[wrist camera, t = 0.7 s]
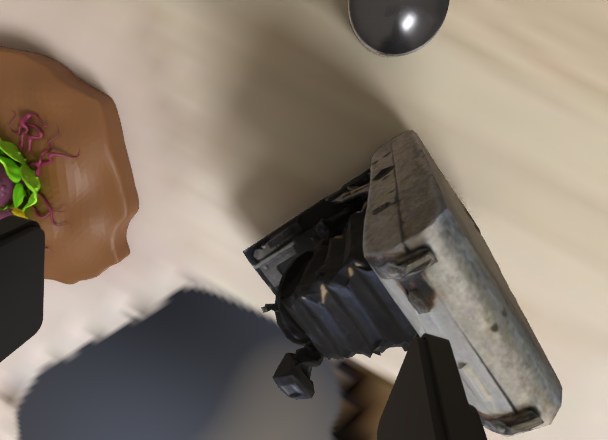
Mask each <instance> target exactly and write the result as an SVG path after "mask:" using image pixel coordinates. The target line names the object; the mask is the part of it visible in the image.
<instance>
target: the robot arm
mask: <svg viewBox="0 0 608 440" xmlns="http://www.w3.org/2000/svg"><path fill="white" fill-rule="evenodd" d="M44 261H45V232H44V231H43V230H42V229H41V227H40V225H39V223H38V222H36V221H33V220H30V219H26V218H23V217H19V216H15V215H11V216H7V217H5V218H2V219H0V362H1V361H2V360H4V359H5V358H6V357H7V356H9V355H10V354H11V353H12V352H14V351H15V350H16V349H17V348H19V347H20V346H21V345H22V344H24V343H25V342H26V341H27V340H28V339H30V338H31V337H32V336H33V335H35V334H36V333H37V331H38V330H39V329H40V327H41V325H42V321H43V298H44ZM377 440H487V437H486V434H485V431H484V428H483V425H482V422H481V419H480V416H479V413H478V411H477V409H476V408H475V407H474V406H473V405H470V404H469V403H468V400H467V397H466V393H465V390H464V387H463V384H462V380H461V377H460V374H459V370H458V367H457V364H456V360H455V357H454V354H453V350H452V347H451V344H450V341H449V340H448V339H445V338H441V337H438V336H434V335H431V334H427V333H424V334H423V335H422V336H421V338H419V337H416V336H415V337H414V338H413V339H412V341H411V344H410V346H409V349H408V351H407V354H406V356H405V359H404V361H403V364H402V366H401V369H400V371H399V374H398V376H397V379H396V381H395V384H394V386H393V389H392V391H391V394H390V396H389V399H388V401H387V404H386V406H385V409H384V411H383V414H382V416H381V419H380V421H379V425H378V431H377Z"/></svg>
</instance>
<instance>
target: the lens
mask: <svg viewBox="0 0 608 440" xmlns="http://www.w3.org/2000/svg"><path fill="white" fill-rule="evenodd" d="M448 5H449V0H348V15H349V20H350V23H351V26H352V29H353V31H354V33H355V35H356V36H357V38H358V39H359V40H360V42H361V43H362V45H363V46H364V47H365V48H366V49H367V50H369V51H370V52H372V53H374V54H376V55H379V56H384V57H393V56H402V55H406V54H410V53H412V52H415V51H417V50H419V49H420V48H422V47H423V46H425V45H426V44H427V43H428V42H429V41H430V40H431V39H432V38H433V37H434V36H435V35H436V33H437V32H438V31H439V29H440V27H441V26H442V24H443V21H444V19H445V16H446V13H447V10H448Z"/></svg>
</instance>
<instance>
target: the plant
mask: <svg viewBox="0 0 608 440" xmlns="http://www.w3.org/2000/svg"><path fill="white" fill-rule="evenodd" d="M138 209H139V199H138V194H137V191H136V187H135V183H134V178H133V174H132V169H131V165H130V162H129V158H128V154H127V150H126V146H125V142H124V137H123V131H122V127H121V122H120V118H119V115H118V111H117V108H116V105H115V103H114V101H113V100H112V98H111V97H109V96H108V95H106V94H104V93H102V92H100V91H99V90H97V89H95V88H93V87H91V86H89V85H88V84H86V83H85V82H83V81H82V80H80V79H79V78H78V77H76V76H75V75H74V74H73V73H72V72H71V71H70V70H69V69H68V68H67V67H66V66H64V65H63V64H61V63H59V62H57V61H55V60H53V59H51V58H49V57H47V56H44V55H41V54H38V53H33V52H27V51H21V50H15V49H11V48H6V47H2V46H0V219H2V218H5V217H7V216H11V215H15V216H19V217H23V218H26V219H30V220H33V221H36V222H38V223H39V225H40V227H41V229H42V230H43V231H44V232H45V261H44V279H51V280H56V281H59V282H62V283H64V284H74V283H77V282H78V281H81V280H87V279H91V278H94V277H97V276H98V275H100V274H101V273H102V272H104V271H105V270H106V269H107V268H109V267H110V266H112V265H114V264H117V263H119V262H120V261H121V260H123V259H124V258H125V257H127V256H128V255H129V254H130V249H129V246H128V243H127V239H126V232H127V228H128V225H129V222H130V220H131V219H132V218H133V216H134V215H135V214H136V213H137V211H138Z"/></svg>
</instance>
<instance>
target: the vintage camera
mask: <svg viewBox="0 0 608 440" xmlns="http://www.w3.org/2000/svg"><path fill="white" fill-rule="evenodd" d="M243 253H244V254H245V256H246V258H247V259H248V261H249V262H250V263H251V265H252V266H253V267H254V269H255V270H256V271H257V273H258V274H259V275H260V276H261V278H262V279H263V280H264V281H265V283H266V284H267V285H268V287H269V288H270V289H271V290H272V292H273V293H274V294H275V295H276V300H275V304H265V307H261V308H262V311H263V313H264V312H268V311H270V310H274V311H275V315H276V319H277V324H278V325H279V327H280V328H281V330H282V331H283V333H284V334H285V336H286V337H287V338H288V339H289V340H290V341H292V342H293V343H296V344H299V345H302V346H304V348H301V349H298V350H296V354H293V353H286V354H285V356H284V358H283V360H282V361H281V363H280V365H279V366H278V368H277V370H276V372H275V374H274V376H273V379H274V381H275V382H276V384H277V385H278V387H279V388H280V389H281V390H282V391H283V392H284V393H285V394H286V395H287V396H289V397H291V398H294V399H296V400H297V399H308V398H312V397H313V395H314V393H315V392H314V387H313V382H312V381H311V380H310V376H311V370H312V367H317V366H319V365H320V364H321V363H322V361H323V358H324V357H327V358H328V359H329V360H330V359H331V358H334V359H337V360H340V359H344V357H346V358H350V357H352V356H354V355H355V354H364V355H366V356H368V357H369V358H370V357H371V355H372V353H375V354H377V355H380V356H381V353H383V352H384V351H385V350H386V349H388V348H389V347H402V348H403V349H404V351H405V352H406V351H408V349H409V346H410V344H411V341H412V339H413V338H414V337H415V336H416V337H419V338H421V336H422V335H423V334H424V333H427V334H431V335H434V336H438V337H441V338H445V339H448V340H449V341H450V344H451V347H452V350H453V354H454V357H455V360H456V364H457V367H458V370H459V374H460V377H461V380H462V384H463V387H464V390H465V393H466V397H467V400H468V403H469V404H470V405H473V406H474V407H475V408H476V409H477V411H478V413H479V416H480V419H481V422H482V425H483V426H484V427H486V428H487V429H489V430H491V431H493V432H496V433H498V434H501V435H503V436H506V437H510V436H513V435H517V434H520V433H524V432H527V431H531V430H534V429H537V428H540V427H543V426H547V425H550V424H551V423H552V421H553V419H554V417H555V416H556V414H557V412H558V410H559V408H560V407H561V402H562V387H561V384H560V382H559V379H558V378H557V376H556V374H555V372H554V370H553V368H552V366H551V364H550V363H549V361H548V359H547V357H546V355H545V353H544V351H543V349H542V348H541V346H540V344H539V342H538V340H537V338H536V336H535V334H534V333H533V331H532V329H531V327H530V325H529V323H528V321H527V319H526V317H525V316H524V314H523V312H522V310H521V309H520V307H519V305H518V303H517V301H516V298H515V297H514V295H513V294H512V292H511V291H510V289H509V286H508V284H507V282H506V280H505V279H504V277H503V275H502V273H501V271H500V269H499V266H498V264H497V262H496V261H495V259H494V257H493V255H492V253H491V251H490V250H489V248H488V246H487V244H486V242H485V240H484V239H483V237H482V235H481V233H480V230H479V228H478V227H477V225H476V223H475V222H474V220H473V219H472V217H471V216H470V214H469V213H468V211H467V210H466V208H465V207H464V205H463V204H462V202H461V201H460V200H459V198H458V197H457V195H456V194H455V192H454V191H453V189H452V188H451V186H450V185H449V183H448V182H447V180H446V179H445V177H444V176H443V174H442V173H441V171H440V169H439V168H438V166H437V165H436V163H435V162H434V160H433V159H432V157H431V156H430V154H429V153H428V151H427V149H426V148H425V146H424V145H423V143H422V142H421V140H420V138H419V137H418V135H417V134H416V133H415V132H414V131H413V130H410V131H406V132H404V133H402V134H400V135H398V136H396V137H395V138H394V139H392V140H391V141H389V142H388V143H386V144H384V145H383V146H381V147H380V148H379V149H378V150H377V151H376V152H375V153H374V155H373V157H372V159H371V167H370V169H368V170H367V171H365V172H364V173H362V174H361V175H359V176H358V177H356V178H355V179H353V180H351V181H350V182H348V183H347V184H345V185H344V186H343V187H342V188H341V189H340V190H339V191H337V192H335V193H333V194H331V195H329V196H327V197H325V198H324V199H322V200H321V201H319V202H318V203H316V204H315V205H313V206H312V207H310V208H309V209H307V210H306V211H304V212H302V213H301V214H299V215H298V216H296V217H295V218H293V219H292V220H290V221H289V222H287V223H286V224H284V225H283V226H281V227H279V228H278V229H276V230H275V231H273V232H272V233H270V234H269V235H267V236H266V237H264V238H263V239H261V240H260V241H258V242H257V243H255V244H254V245H252V246H251V247H249V248H248V249H246V250H244V251H243ZM380 352H381V353H380Z"/></svg>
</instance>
